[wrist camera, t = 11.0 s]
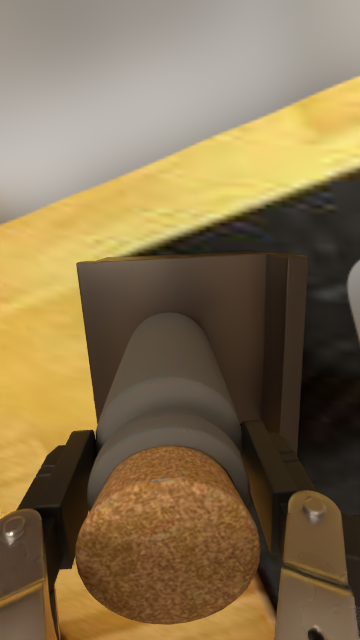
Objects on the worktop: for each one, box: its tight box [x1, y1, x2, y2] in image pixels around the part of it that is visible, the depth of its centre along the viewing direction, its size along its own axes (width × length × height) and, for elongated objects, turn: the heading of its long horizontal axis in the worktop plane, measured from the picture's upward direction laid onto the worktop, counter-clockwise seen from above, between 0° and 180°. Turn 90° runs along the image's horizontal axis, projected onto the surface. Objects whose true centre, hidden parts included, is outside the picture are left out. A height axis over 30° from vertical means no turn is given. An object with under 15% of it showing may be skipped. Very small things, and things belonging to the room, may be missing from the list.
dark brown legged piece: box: [76, 250, 308, 456], centre depth 23 cm, size 14×13×9 cm
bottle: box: [75, 312, 261, 625], centre depth 15 cm, size 6×6×15 cm
